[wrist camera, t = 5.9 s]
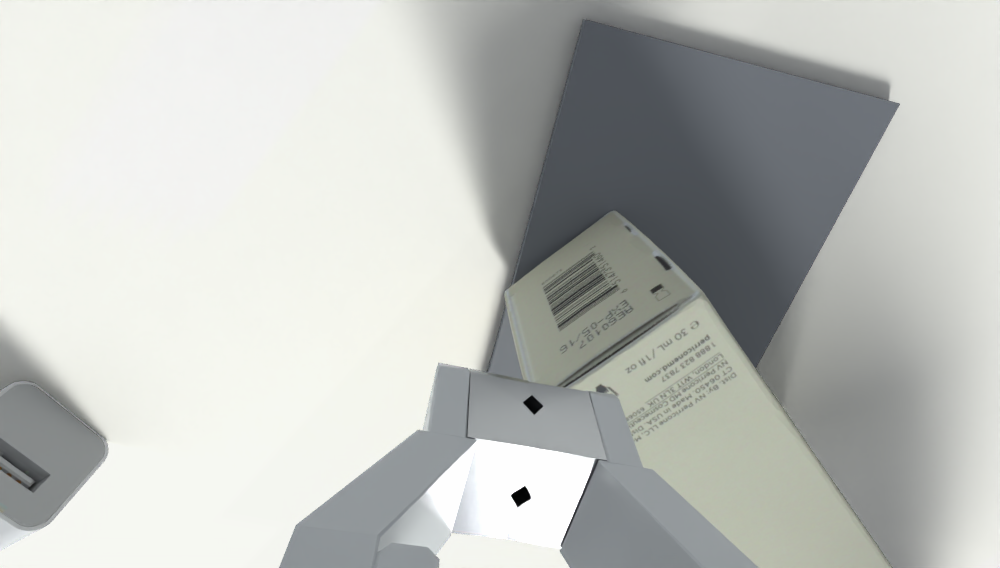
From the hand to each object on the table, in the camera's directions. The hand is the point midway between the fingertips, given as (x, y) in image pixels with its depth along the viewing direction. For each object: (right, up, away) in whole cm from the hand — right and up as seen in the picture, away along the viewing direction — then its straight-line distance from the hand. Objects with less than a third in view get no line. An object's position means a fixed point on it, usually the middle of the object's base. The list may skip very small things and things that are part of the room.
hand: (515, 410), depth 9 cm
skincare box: (+2, +2, +4) cm, 5 cm away
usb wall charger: (-19, -4, +11) cm, 22 cm away
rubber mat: (+5, +3, +8) cm, 10 cm away
